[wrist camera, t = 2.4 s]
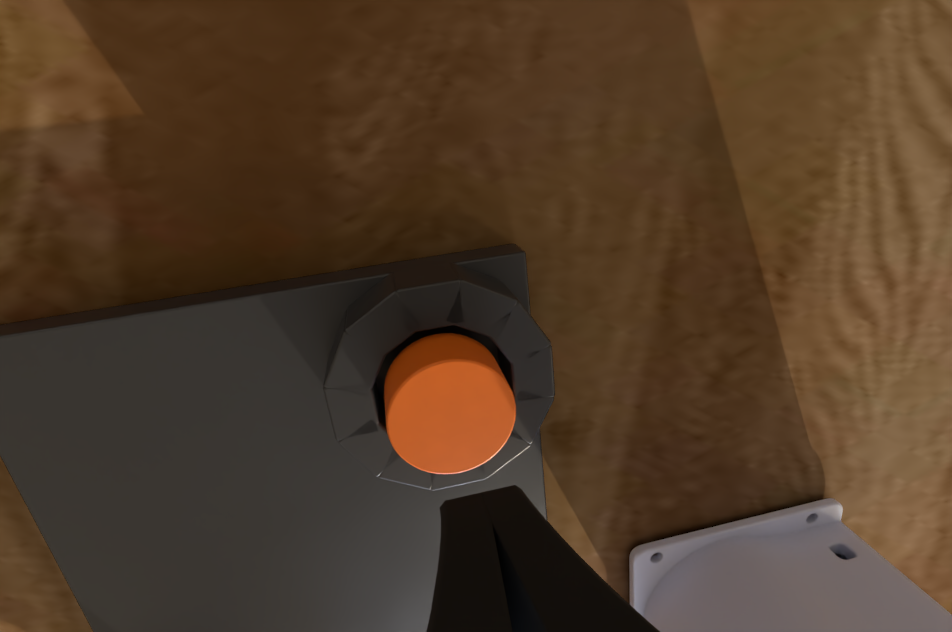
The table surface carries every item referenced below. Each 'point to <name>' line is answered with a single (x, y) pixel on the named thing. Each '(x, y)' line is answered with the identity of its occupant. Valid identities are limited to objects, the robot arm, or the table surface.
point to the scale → (259, 445)
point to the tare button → (447, 404)
